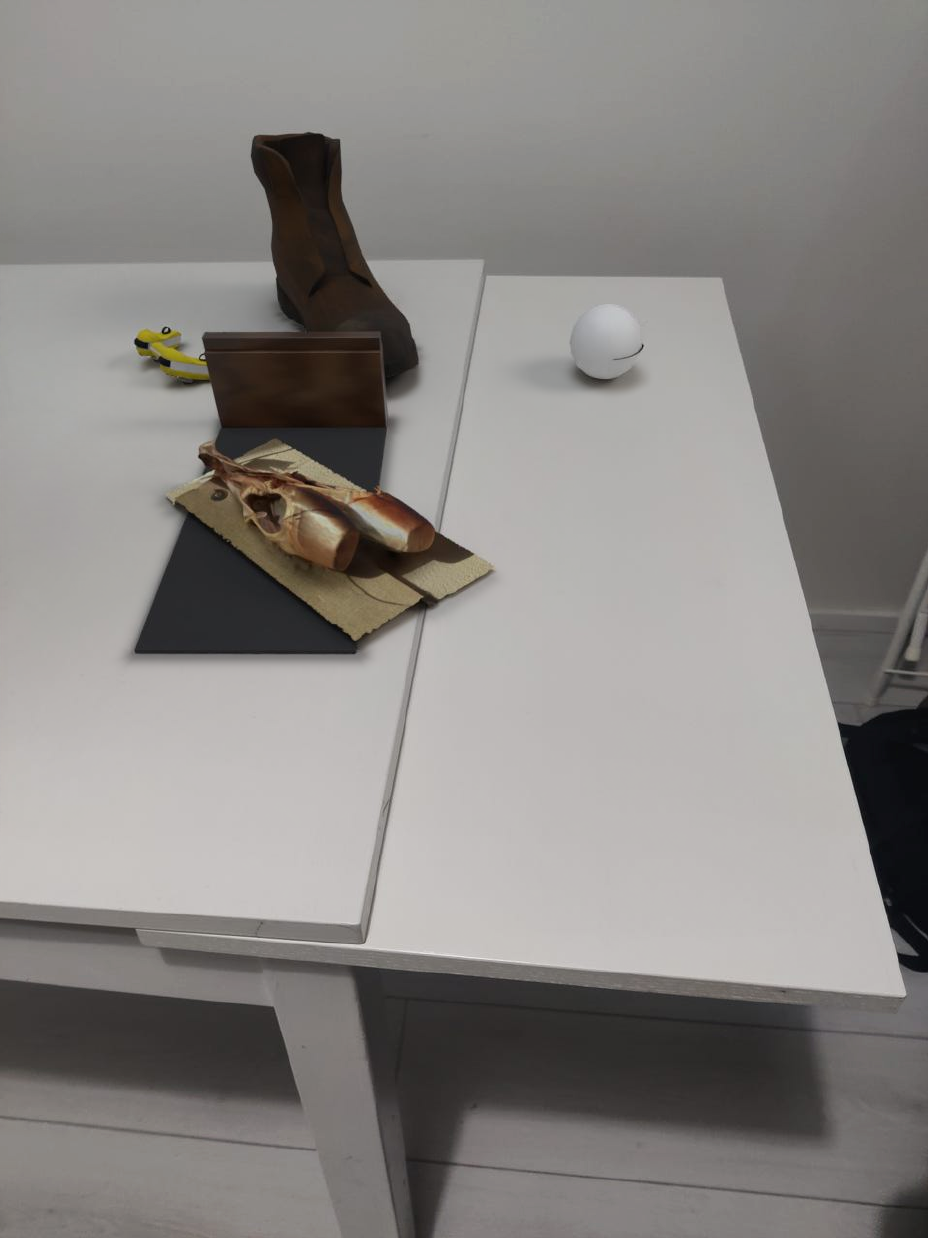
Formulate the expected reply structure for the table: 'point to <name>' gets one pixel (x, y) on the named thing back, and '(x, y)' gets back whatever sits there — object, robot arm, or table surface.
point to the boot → (323, 247)
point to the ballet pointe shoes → (327, 535)
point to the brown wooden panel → (297, 379)
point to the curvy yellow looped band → (170, 355)
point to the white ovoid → (606, 341)
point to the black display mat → (252, 565)
